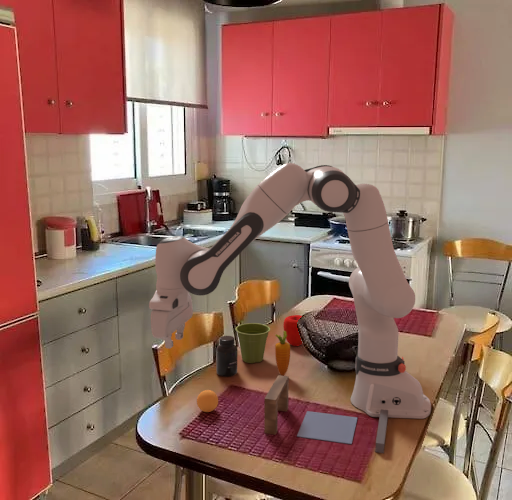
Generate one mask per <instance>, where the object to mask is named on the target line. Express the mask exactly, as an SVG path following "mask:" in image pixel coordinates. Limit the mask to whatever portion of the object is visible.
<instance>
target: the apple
mask: <svg viewBox="0 0 512 500" xmlns="http://www.w3.org/2000/svg"><path fill="white" fill-rule="evenodd" d="M302 316H303V315H300V314H296V315H295V314H294V315H288V316H286V317H285V318H284V320H283V325H282V326H283V332H284V331H286V335H287V337H286V340H285V341H286V342H287V343H289V345H290V346H292V347H299V346H301V345H303V343H302V341H301V338H300V335H299V332H298V328H297V322H298V320H299V319H300V318H301V317H302Z"/></svg>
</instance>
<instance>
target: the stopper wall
mask: <svg viewBox="0 0 512 500" xmlns="http://www.w3.org/2000/svg"><path fill="white" fill-rule="evenodd" d="M378 418H379V419H378V426H377V432H376V438H375V449H374V451H375V453H379V454H385V446H386V445H385V444H386V436H387V428H388V421H389V417H388V410H383V409H381V411H380V417H378Z"/></svg>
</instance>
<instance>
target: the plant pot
mask: <svg viewBox="0 0 512 500" xmlns="http://www.w3.org/2000/svg"><path fill="white" fill-rule="evenodd" d="M234 330H235V331H236V333H237V337H238V340H239V341H238V343H239V349H240V354H241V360H242V361H243V362H245V363H249V364H254V363H260V362H262V361H263V360H264V357H265V352H266V351H265V350H266V345H267V341H268V340H267V339H268V336H269V333H270V332H271V328H270V326H268V325H267V324H263V323H258V322H250V323H242V324H239V325H237V326H236V327H235V329H234Z"/></svg>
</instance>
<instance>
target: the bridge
mask: <svg viewBox="0 0 512 500" xmlns="http://www.w3.org/2000/svg"><path fill="white" fill-rule="evenodd" d="M289 377H290V376H288V375H284V376H281V375H279V374H278V375H277V377H276V378H275V379H274V382H273V383H272V385H271V387H270V388H269V390H268V392H267V394H266V395H265V396H264V404H263V405H264V406H263V407H264V417H263V419H264V421H263V422H264V427H263V428H264V429H263V430H264V434H267V435H274V436H275V435H276V434H277V433H278V425H279V424H278V421H279V420H278V419H279V418H278V415H279V413H278V411H279V412H280V411H281V412H288V410H289V388H290V387H289V386H290V385H289V383H290V382H289Z"/></svg>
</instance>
